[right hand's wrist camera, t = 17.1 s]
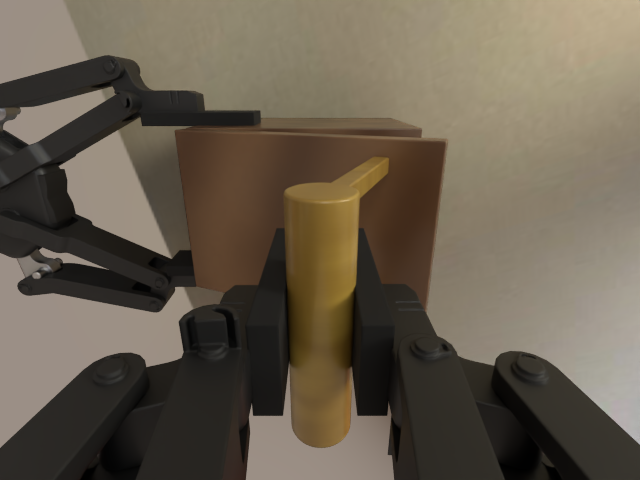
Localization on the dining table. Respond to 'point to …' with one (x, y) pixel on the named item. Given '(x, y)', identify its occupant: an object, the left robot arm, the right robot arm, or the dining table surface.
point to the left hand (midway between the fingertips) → (261, 195)
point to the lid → (312, 238)
